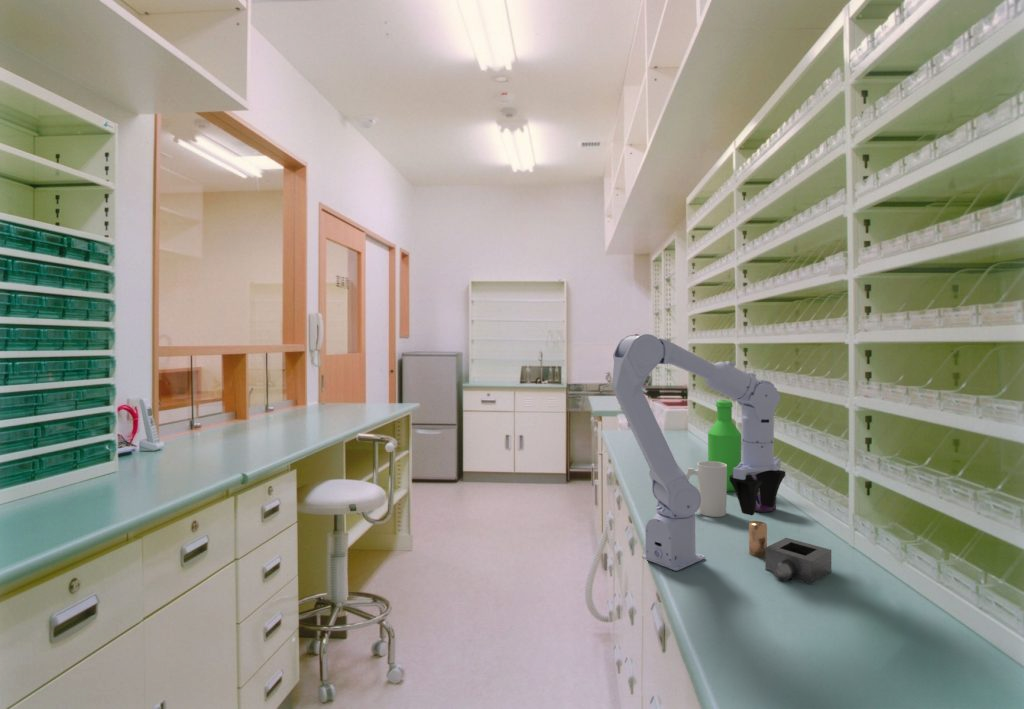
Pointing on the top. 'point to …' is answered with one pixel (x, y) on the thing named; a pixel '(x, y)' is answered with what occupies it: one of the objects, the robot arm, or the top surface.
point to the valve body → (797, 561)
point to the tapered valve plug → (757, 538)
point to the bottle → (725, 440)
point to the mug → (711, 487)
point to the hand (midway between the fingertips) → (758, 509)
